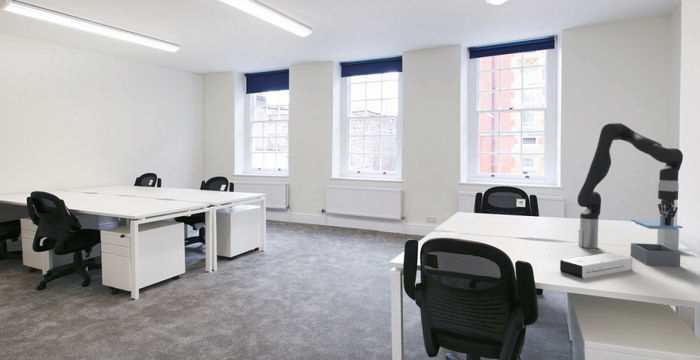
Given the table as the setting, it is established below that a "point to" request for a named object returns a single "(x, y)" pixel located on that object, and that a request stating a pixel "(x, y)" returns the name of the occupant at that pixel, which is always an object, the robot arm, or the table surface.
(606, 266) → the laminator
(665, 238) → the supplement box
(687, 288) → the table surface
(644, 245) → the parts tub
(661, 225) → the tub lid
